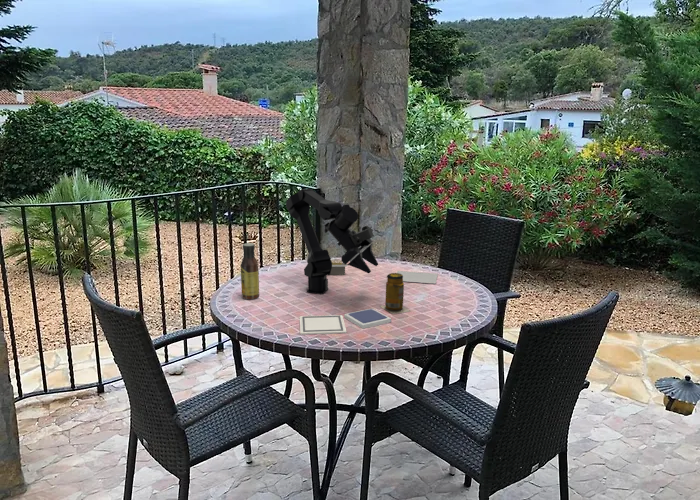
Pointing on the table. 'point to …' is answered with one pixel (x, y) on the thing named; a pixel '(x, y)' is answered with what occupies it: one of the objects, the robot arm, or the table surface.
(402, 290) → the condiment
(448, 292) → the table surface
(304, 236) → the robot arm
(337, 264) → the platform
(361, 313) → the ink pad
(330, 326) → the marked board
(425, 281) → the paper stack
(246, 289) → the sauce bottle
